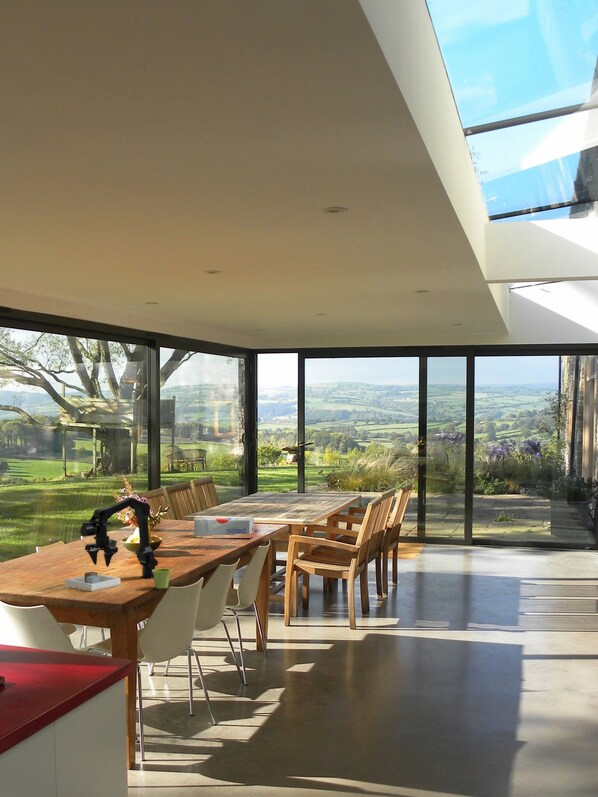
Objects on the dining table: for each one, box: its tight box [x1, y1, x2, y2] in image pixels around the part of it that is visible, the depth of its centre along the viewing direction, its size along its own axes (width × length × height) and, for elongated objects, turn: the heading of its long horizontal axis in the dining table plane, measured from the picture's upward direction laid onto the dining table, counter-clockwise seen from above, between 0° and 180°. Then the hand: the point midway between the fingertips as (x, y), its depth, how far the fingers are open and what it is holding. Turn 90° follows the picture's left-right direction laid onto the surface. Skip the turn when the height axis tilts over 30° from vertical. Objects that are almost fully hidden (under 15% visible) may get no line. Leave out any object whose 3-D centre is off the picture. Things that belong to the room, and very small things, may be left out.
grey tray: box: [64, 574, 121, 592], centre depth 389 cm, size 20×18×4 cm
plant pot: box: [152, 568, 172, 590], centre depth 385 cm, size 9×9×9 cm
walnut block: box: [84, 571, 98, 583], centre depth 393 cm, size 4×4×5 cm
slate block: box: [87, 576, 100, 584], centre depth 383 cm, size 4×4×5 cm
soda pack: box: [193, 516, 255, 537], centre depth 546 cm, size 41×13×14 cm, turn 79°
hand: (101, 565), depth 388 cm, fingers open, 9 cm apart
